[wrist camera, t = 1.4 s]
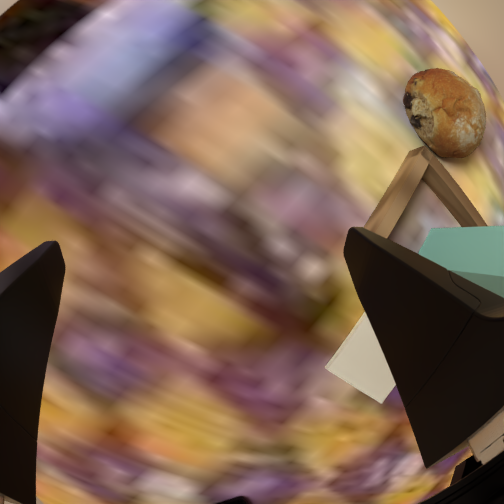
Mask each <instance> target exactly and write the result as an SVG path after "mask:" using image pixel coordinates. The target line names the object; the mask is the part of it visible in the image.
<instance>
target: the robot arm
mask: <svg viewBox="0 0 504 504" xmlns="http://www.w3.org/2000/svg"><path fill="white" fill-rule="evenodd" d="M344 258H345V260H346V263H347V266H348V269H349V272H350V275H351V278H352V281H353V283H354V286H355V289H356V292H357V295H358V297H359V299H360V301H361V304H362V306H363V308H364V310H365V312H366V315H367V317H368V319H369V321H370V324H371V326H372V328H373V331H374V333H375V335H376V337H377V340H378V342H379V345H380V347H381V349H382V352H383V354H384V356H385V359H386V361H387V364H388V366H389V369H390V371H391V374H392V376H393V379H394V381H395V384H396V386H397V389H398V391H399V394H400V397H401V399H402V402H403V404H404V407H405V410H406V413H407V416H408V418H409V421H410V424H411V427H412V429H413V432H414V435H415V438H416V441H417V444H418V447H419V450H420V453H421V456H422V459H423V462H424V465H425V467H426V469H427V468H429V467H431V466H433V465H435V464H437V463H439V462H441V461H443V460H445V459H447V458H448V457H450V456H452V455H454V454H456V453H457V452H459V451H461V450H463V449H464V448H466V447H468V446H469V447H470V449H471V451H472V453H473V455H472V456H471V457H469V458H468V459H466V460H465V461H463V462H462V463H460V464H459V465H457V466H456V468H455V471H454V474H453V478H452V481H451V484H450V486H449V487H447V488H446V489H444V490H442V491H440V492H438V493H437V494H435V495H433V496H431V497H429V498H427V499H425V500H424V501H422V502H420V503H418V504H504V298H503V297H501V296H499V295H497V294H495V293H493V292H491V291H489V290H487V289H485V288H483V287H481V286H479V285H477V284H475V283H473V282H471V281H469V280H467V279H465V278H463V277H462V276H460V275H458V274H456V273H454V272H452V271H450V270H447V269H446V268H444V267H443V266H441V265H439V264H437V263H435V262H433V261H431V260H429V259H427V258H425V257H423V256H421V255H419V254H417V253H415V252H413V251H411V250H409V249H407V248H405V247H403V246H401V245H399V244H397V243H395V242H393V241H391V240H389V239H387V238H385V237H382V236H380V235H378V234H376V233H374V232H372V231H370V230H368V229H365V228H363V227H351V228H350V229H349V230H348V234H347V238H346V242H345V246H344ZM64 275H65V262H64V259H63V256H62V252H61V249H60V245H59V243H58V242H57V241H46V242H44V243H42V244H41V245H39V246H38V247H36V248H35V249H33V250H32V251H30V252H29V253H27V254H26V255H24V256H23V257H22V258H20V259H19V260H17V261H16V262H14V263H13V264H12V265H10V266H9V267H7V268H6V269H5V270H3V271H2V272H0V504H4V501H8V502H10V503H14V504H36V455H37V437H38V425H39V416H40V407H41V399H42V392H43V385H44V379H45V373H46V367H47V362H48V357H49V352H50V347H51V342H52V337H53V333H54V329H55V324H56V320H57V316H58V311H59V306H60V299H61V293H62V287H63V281H64ZM218 504H248V503H247V501H246V500H245V499H244V498H243V497H236V498H234V499H231V500H227V501H224V502H221V503H218Z"/></svg>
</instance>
